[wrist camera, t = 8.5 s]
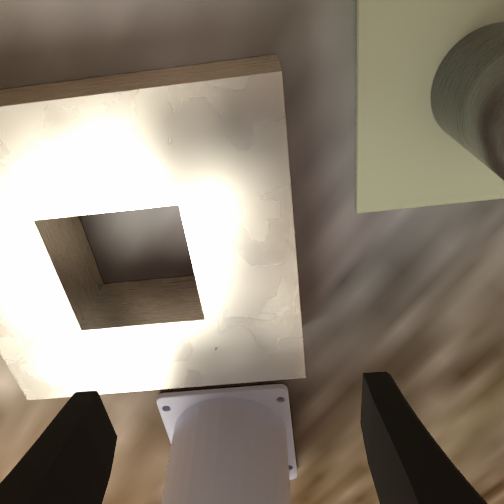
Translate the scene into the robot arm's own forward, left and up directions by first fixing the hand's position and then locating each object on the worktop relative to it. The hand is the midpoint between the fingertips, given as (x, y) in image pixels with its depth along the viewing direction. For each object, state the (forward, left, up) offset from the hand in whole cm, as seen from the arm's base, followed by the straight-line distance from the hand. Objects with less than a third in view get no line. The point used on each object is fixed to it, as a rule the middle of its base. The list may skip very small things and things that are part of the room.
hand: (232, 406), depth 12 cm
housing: (0, +5, -10) cm, 11 cm away
